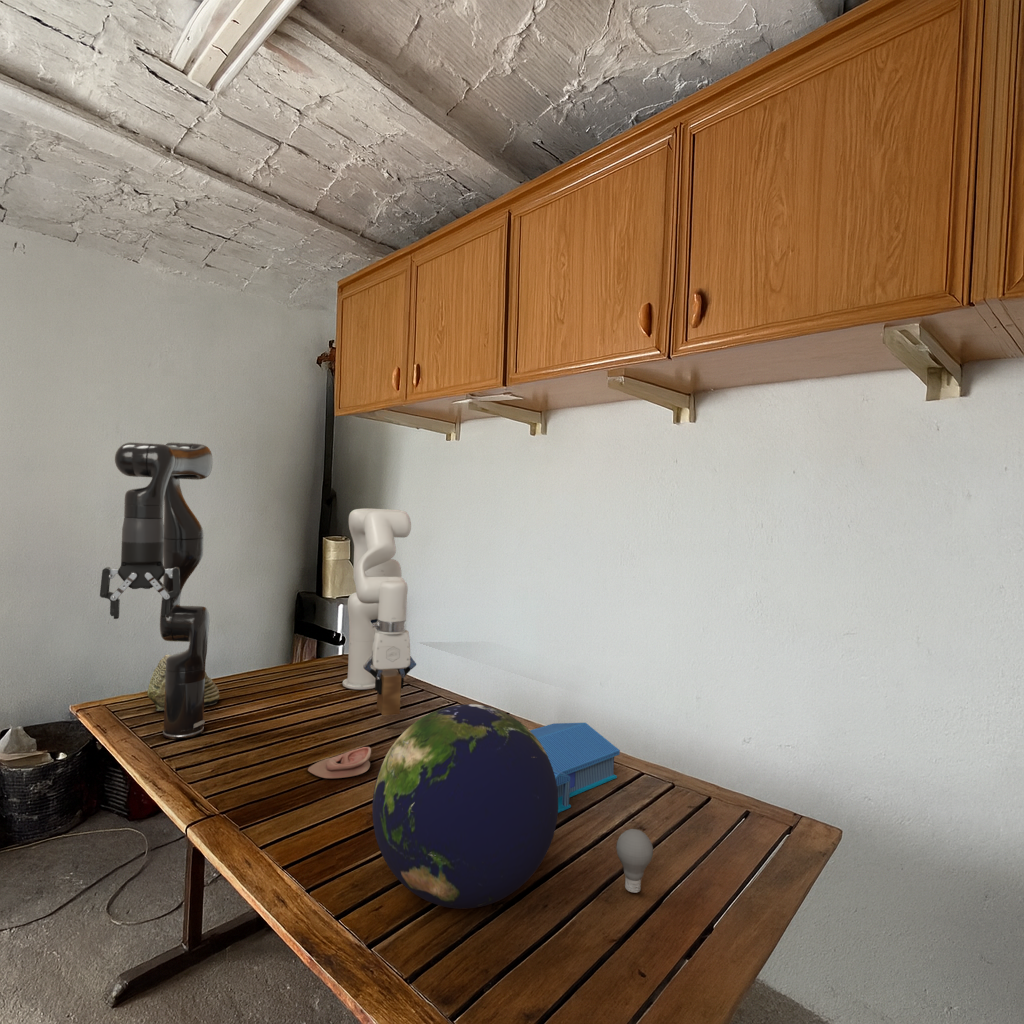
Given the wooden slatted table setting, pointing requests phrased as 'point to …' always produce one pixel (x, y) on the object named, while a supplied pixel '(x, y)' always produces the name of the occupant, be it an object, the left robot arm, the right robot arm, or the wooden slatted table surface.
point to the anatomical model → (343, 764)
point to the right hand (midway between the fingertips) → (389, 691)
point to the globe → (465, 806)
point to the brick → (389, 693)
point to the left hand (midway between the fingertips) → (140, 617)
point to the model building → (576, 758)
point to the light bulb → (634, 857)
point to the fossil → (158, 687)
